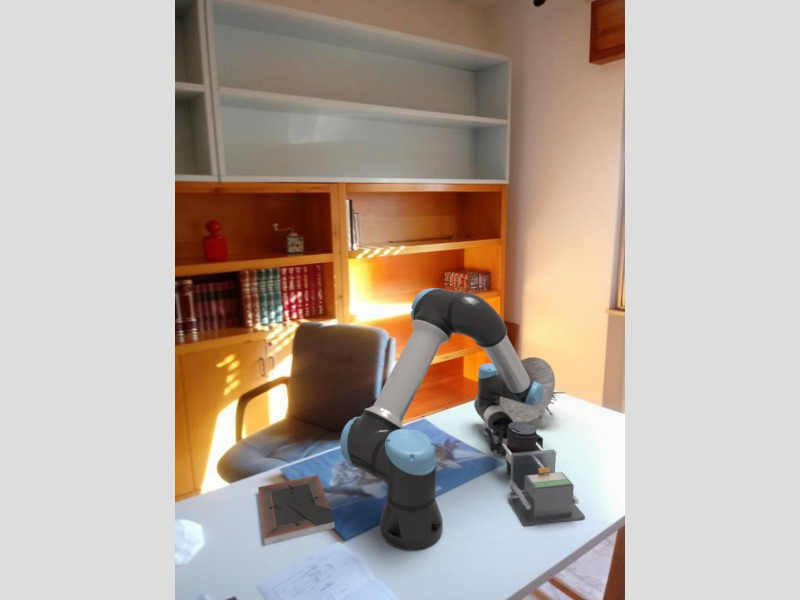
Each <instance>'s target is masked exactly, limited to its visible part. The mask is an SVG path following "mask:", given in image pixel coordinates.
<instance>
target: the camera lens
mask: <svg viewBox="0 0 800 600" xmlns="http://www.w3.org/2000/svg"><path fill="white" fill-rule="evenodd" d="M536 439H537V427H535V425H533V424H531V423H529V422H520V421H516V422H512V423H510V424H509V427H508V430H507V439H506V446H507V447H508V449H509V450H510V451H511V453H520V452H530V451H535V447H536ZM505 459H506V458H505ZM505 461H506V462H505V463H506V470H507V474H508V477H510V475H511V464H510V463H509V462H508V460H507V459H506V460H505Z"/></svg>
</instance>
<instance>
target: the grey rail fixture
mask: <svg viewBox="0 0 800 600" xmlns="http://www.w3.org/2000/svg"><path fill="white" fill-rule="evenodd" d="M556 459H557V451H555V449H545V450H544V449H543V450H541V451H530V452H520V453H511V475H510V476H509V478H510V480H509V489H510V491H511V492H512V493H515V494H516V495H517V498H518V497H519V498H520V500H521V501H522V503H523V504H524V506H525V507H526V509H530V507H531V506H530V504H529V503H528V501H527V500H526V498H525V497H524V493H523V492H524V487H525V476H526V475H536V474H545V473H555V472H556V463H557V461H556ZM522 491H523V492H522ZM573 502H574V504H575V505H577V504H579V502H580V501H579V499H578V497H576V495H575V494H574V493H573Z"/></svg>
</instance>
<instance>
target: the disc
mask: <svg viewBox="0 0 800 600" xmlns="http://www.w3.org/2000/svg"><path fill="white" fill-rule="evenodd" d="M520 361H521V363H522V365H523V367H524V368H525V370H526V372H527V374H528V376H529V378H530V380H531V381H533V382H534V381H535V382H537V383H539V384H541V385H542V386H543V390H544V392H543V398H542V400H541V402H540V404H539V405H537V406H531V405H525V404H523V403H520V402H516V401H513V400H510V399H507V398H504V397H500V406H501V407H502V408H503V410H504V411H505V412H506V413H507V414H508V415H509V416H510V418H511V419H512V420H513V422H516V421H520V422H526V423H529V422H531V421H533V420H535V419H537V418H539V417H540V419H541V420H542V419H543V418H542V414H543V413H546V411H545V410H547V412H549V415H551V416H554V414H553V413H552V412H551V410H550V409H549V406H550V404H552V405H554V404H555V403H554V402H553V401H558V400H557V397H558V395H557V394H565V393H566V392H565V391H562V392H561V391H555V386H556V378H555V373H554V370H553V368H552V366H551V365H550V364H549V363H548V362H547V361H546V360H544V359H543V358H540V357H536V356H535V357H527V358H524V359H520ZM555 396H556V397H555ZM552 400H553V401H552Z"/></svg>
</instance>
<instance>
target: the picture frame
mask: <svg viewBox="0 0 800 600" xmlns="http://www.w3.org/2000/svg"><path fill="white" fill-rule="evenodd" d="M257 489H258V490H257V491H258V500H259V506H260V507H259V508H260V515H261V524H262V531H263V533H262V534H263V539H264V540H263V541H264V545H265V546H266V545H271V544H275V543H280V542H283V541H287V540H290V539H295V538H300V537H304V536H307V535H308V536H309V535H312V534H315V533H319V532H323V531H328V530H332V529H335V519H334V516H333V514H332V509H331V508H330V505H329V502H328V499H327V496H326V494H325V490H324V488H323V485H322V482H321V479H320V477H319V474H315V475H311V476H305V477H301V478H298V479H297V478H295V479H291V480H287V481H282V482H278V483H272V484H267V485H261V486H258V487H257Z"/></svg>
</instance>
